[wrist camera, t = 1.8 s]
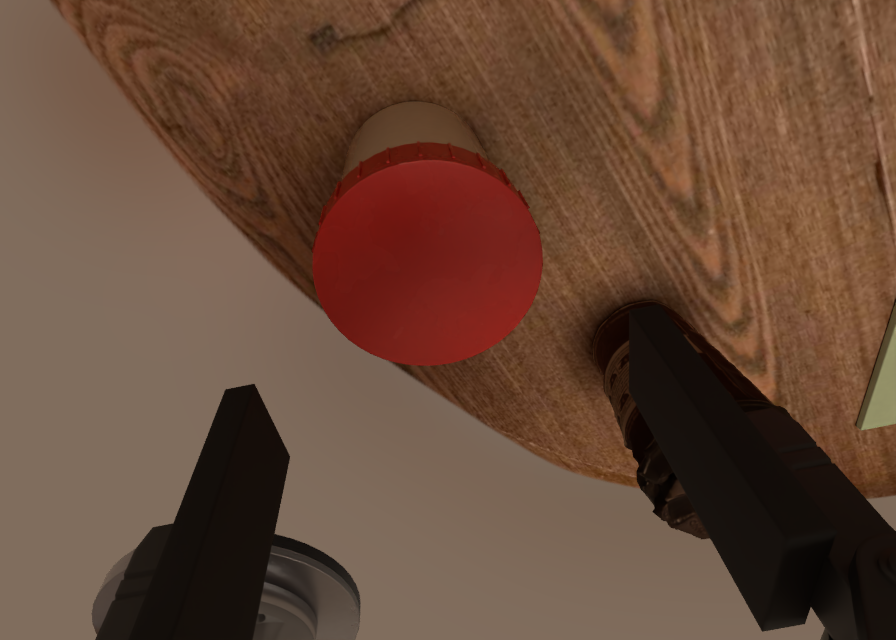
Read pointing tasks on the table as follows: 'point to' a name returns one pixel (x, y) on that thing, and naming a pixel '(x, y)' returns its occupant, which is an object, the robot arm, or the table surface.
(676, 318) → the coffee cup
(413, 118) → the jar
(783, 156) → the table surface
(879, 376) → the mat
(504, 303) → the lid
